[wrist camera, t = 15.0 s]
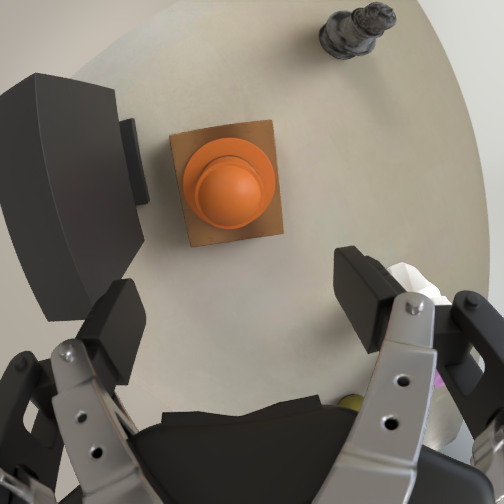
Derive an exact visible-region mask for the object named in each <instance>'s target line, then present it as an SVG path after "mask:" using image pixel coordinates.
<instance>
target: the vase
mask: <svg viewBox="0 0 504 504" xmlns="http://www.w3.org/2000/svg"><path fill="white" fill-rule="evenodd" d="M386 270H387V271H388V272H389V273H390V275H392V276H393V277H394V278H395V279H396V280H397V281H398V282H399V283H400V284H401V285H402V287H403V288H404V289H405V290H406V291H407V292H417V293H421V294H423V295H425V296H427V297H428V298H430V299H431V300H432V302H433V303H434V305H452V304H451V303H450V302H449V301H448V300H447V298H446V297H445V296H441V295H440V292H439V289H438V288H437V287H435V286H434V285H433V284H432V283H430V282H429V281H427V280H426V279H425V278H424V277H423V276H422V275H421V274H420V272H419V271H418V270H417V269H416V268H415V267H414V266H411V265H408V264H405V263H402V262H401V263H398V264H396V265H393V266H390V267H388V268H387V269H386Z"/></svg>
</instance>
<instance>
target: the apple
mask: <svg viewBox="0 0 504 504" xmlns="http://www.w3.org/2000/svg"><path fill="white" fill-rule="evenodd" d="M363 399H364V397H362V396H360V395H350V396H347V397H345V398H343V399H342V400H341V401H340V402H339V404H338V406H341V407H346V408H350V409H353V410H356V411H358V412H359V409H360V407H361V404H362V402H363Z"/></svg>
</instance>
